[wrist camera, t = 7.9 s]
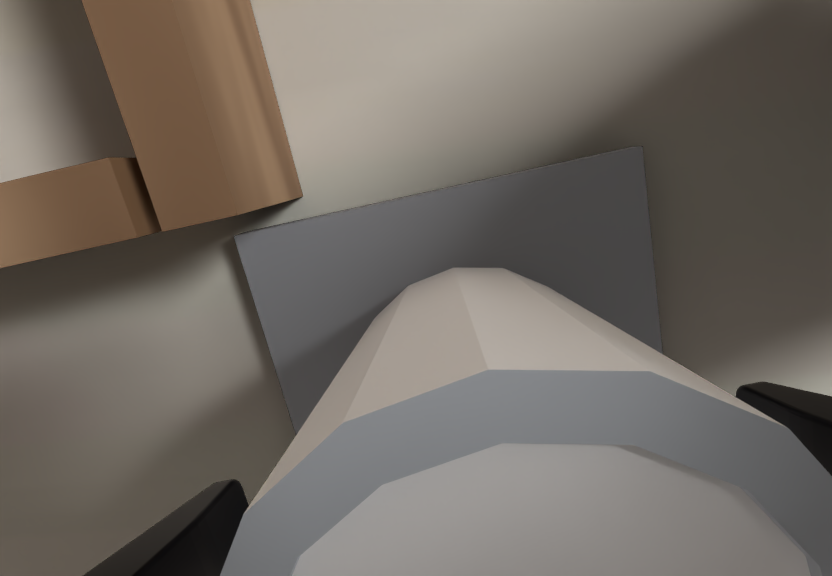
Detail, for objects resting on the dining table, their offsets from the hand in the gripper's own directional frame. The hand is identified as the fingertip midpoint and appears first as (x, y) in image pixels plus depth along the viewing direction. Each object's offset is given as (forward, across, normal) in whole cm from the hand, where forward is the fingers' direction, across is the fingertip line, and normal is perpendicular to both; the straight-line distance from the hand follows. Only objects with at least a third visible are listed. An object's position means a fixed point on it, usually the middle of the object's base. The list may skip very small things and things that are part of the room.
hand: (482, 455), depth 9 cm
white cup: (+3, 0, 0) cm, 3 cm away
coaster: (+4, 0, 0) cm, 4 cm away
